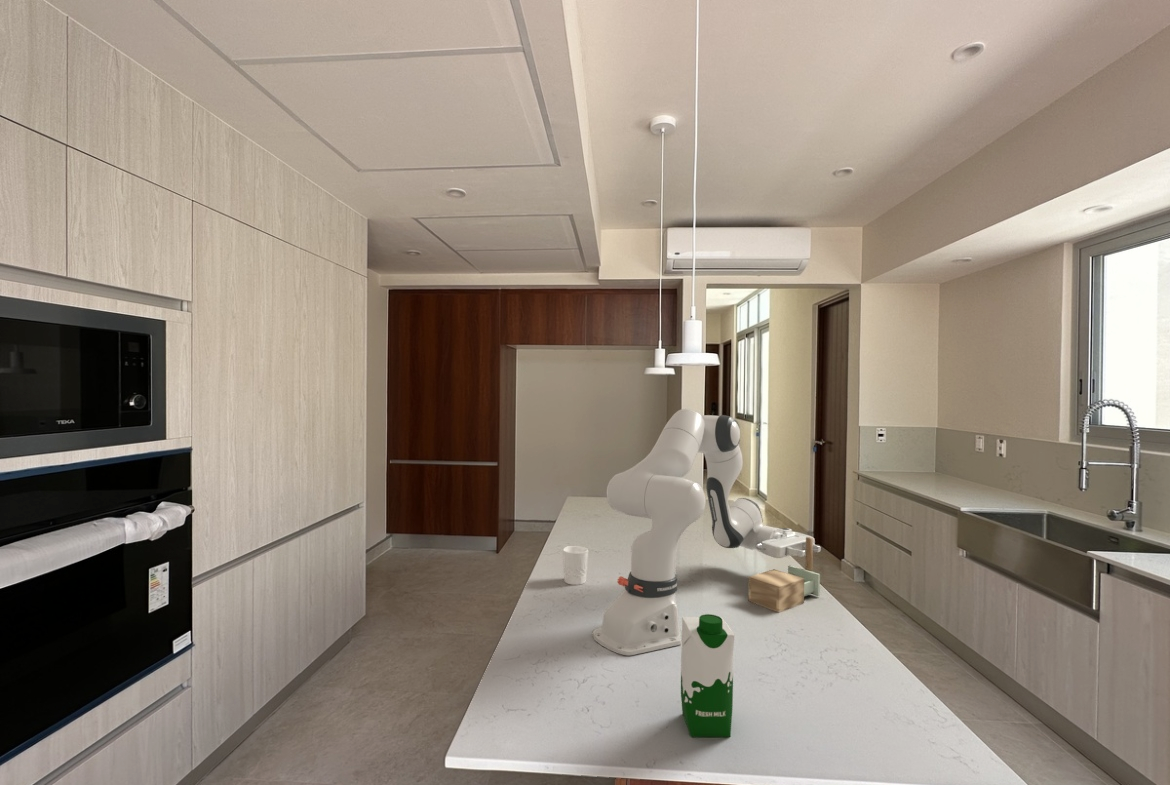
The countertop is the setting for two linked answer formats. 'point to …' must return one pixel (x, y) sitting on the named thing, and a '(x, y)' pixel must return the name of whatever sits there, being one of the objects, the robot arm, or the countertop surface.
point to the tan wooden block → (776, 590)
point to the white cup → (575, 564)
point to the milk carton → (707, 675)
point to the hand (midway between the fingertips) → (811, 551)
